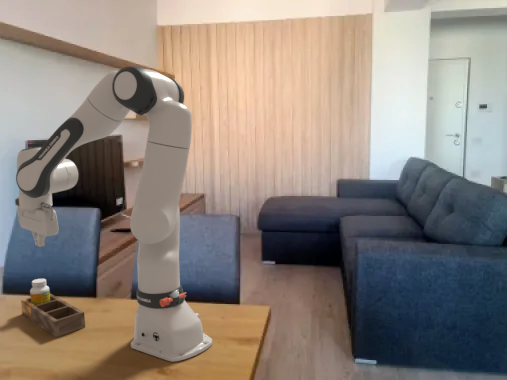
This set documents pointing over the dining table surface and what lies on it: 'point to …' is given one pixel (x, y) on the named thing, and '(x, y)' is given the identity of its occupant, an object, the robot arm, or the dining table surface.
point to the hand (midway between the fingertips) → (40, 245)
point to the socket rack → (54, 315)
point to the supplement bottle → (39, 292)
